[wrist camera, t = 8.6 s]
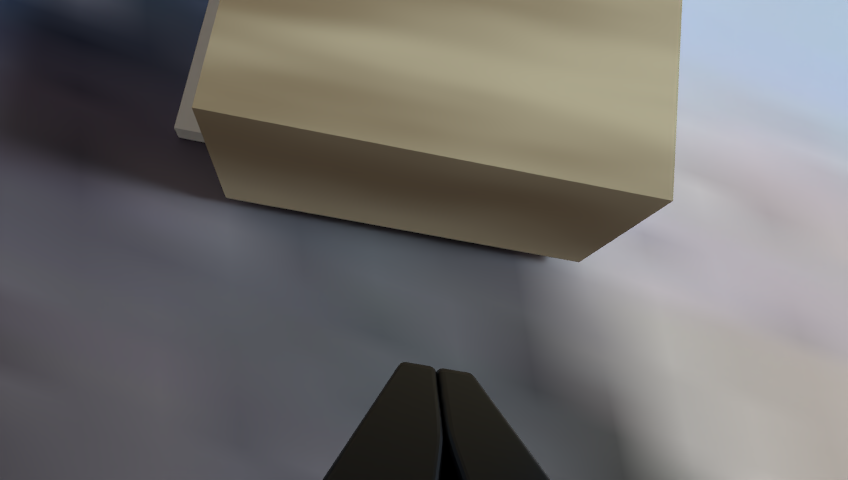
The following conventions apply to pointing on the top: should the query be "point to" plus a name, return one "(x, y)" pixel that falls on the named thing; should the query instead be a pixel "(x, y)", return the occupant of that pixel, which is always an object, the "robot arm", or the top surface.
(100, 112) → the top surface
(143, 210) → the top surface
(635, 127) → the oak block
